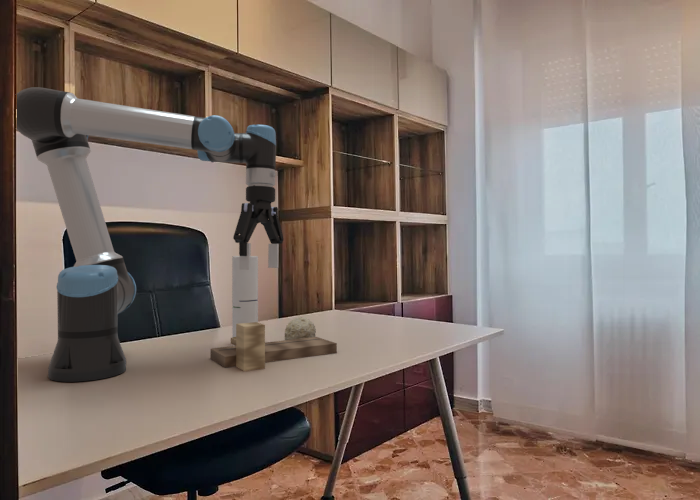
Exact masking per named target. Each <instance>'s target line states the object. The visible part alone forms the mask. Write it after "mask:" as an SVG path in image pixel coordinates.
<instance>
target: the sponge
mask: <svg viewBox="0 0 700 500" xmlns="http://www.w3.org/2000/svg"><path fill="white" fill-rule="evenodd" d="M316 331H317V329H316V325H315V324H314V323H313V321H312V320H310V319H309V318H306V317H301V316H298V317H296V318H293V319H291V320H290V321H289V322H288V323H287V325H286V327H285V329H284V337H283V338H284V340H292V339H301V338H311V337H316Z"/></svg>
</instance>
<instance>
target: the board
mask: <svg viewBox="0 0 700 500" xmlns="http://www.w3.org/2000/svg"><path fill="white" fill-rule="evenodd" d="M337 347H338V343H337V342H333V341H332V340H331V341H330V340H328V339H325V338H321V337H318V336H315V337H311V338H301V339H292V340H285V339H284V340H275V341H265V363H270V362H271V363H272V362H275V361H285V360H292V359H294V360H295V359H298V358H299V359H301V358H308V357H315V356H322V355H324V356H325V355H329V354H331V355H332V354H337V353H338V349H337ZM210 359H211V360H212V361H214V362H215V363H217V364H219V365H220V366H221V367H223V368H226V369H227V368H232V367H233V368H234V367H236V346H233V345H232V346H231V345H230V346H229V345H228V346H221V347H212V348H210Z"/></svg>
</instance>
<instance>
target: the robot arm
mask: <svg viewBox="0 0 700 500" xmlns="http://www.w3.org/2000/svg"><path fill="white" fill-rule="evenodd" d="M16 94H17V129H16V130H17V132H18V133H19V134H21V135H23V136H24V137H25V138H28V139H29V140H31V143H32V146H33V148H34V153H35V155H36V158H37V161H39V162H41V163H42V164H44V165H46V167H47V170H48V173H49V176H50V180H51V184H52V186H53V189H54V193H55V196H56V198H57V199H56V200H57V203H58V206H59V208H60V209H59V210H60V212H61V215H62V219H63V222H64V225H65V228H66V231H67V235H68V239H69V241H70V242H69V243H70V245H71V247H72V248H71V249H72V250H73V254H74V257H75V258H74V259H75V261H76V262H75V263H74V264H73V266H70V267H67V268H64V269H62V270H61V271H59V273H58V275H57V283H56V290H57V292H56V293H57V296H56V297H57V342H56V345H55V348H54V350H53V353H52V356H51V357H50V358H51V359H50V362H49V365H48V368H47V369H48V376H47V377H48V379H49V380H52V381H56V382H63V383H64V382H71V383H73V382H87V381H96V380H102V379H107V378H111V377H115V376H117V375H120V374H123V373H124V372H126V371H127V359H126V356H125V353H124V350H123V348H122V344H121V341H120V339H119V336H118V334H119V333H118V315H120V314H122V313H123V312H125V311H126V310H127V309H128V308H130V306H131V305H132V304H133V302H134V301H135V298H136V294H137V285H136V282H135V279H134V277H133V276H132V274H130V272H128V270H127V267H126V264H125V260H124V256H122V255H120V254H119V253H116V252H115V249H114V247H113V244H112V240H111V237H110V232H109V231H108V227H107V224H106V220H105V218H104V214H103V210H102V208H101V203H100V200H99V197H98V194H97V191H96V190H97V189H96V187H95V184H94V181H93V178H92V174H91V171H90V168H89V164H88V161H87V157H88V156H89V154H90V153H91V148H90V144H89V141H88V139H89V136H90V137H98V138H106V139H113V140H120V141H121V140H122V141H128V142H136V143H142V144H143V143H144V144H151V145H158V146H165V147H173V148H178V149H179V148H180V149H188V150H194V151H197V157H198V159H199V160H200V161H203V162H211V163H240V164H246V167H245V184H246V185H247V186H246V188H245V200H246V202H244V203H241V207H240V208H241V209H240V214H239V218H238V220H237V223H236V227H235V231H234V233H233V238H232V239H233V240H234V242H235V243H237V244H238V246H239V247H238V250H239V251H238V252H239V253H238V254H239V255H238V256H240V260H239V270H250V265H251V256H252V255H251V254H252V253H251V252H252V250H251V249H252V248H251V247H252V244H251V242H250V239H251V238H252V235H253V233H254V231H255V229H256V227H257V225H258V224H261V225H262V226H263V228H264V230H265V233H266V235H267V237H268V239H269V243H268V245H267V246H268V249H267V250H268V252H267V255H268V259H267V264H268V265H267V266H268V267H267V268H269V269H273V268H274V269H279V253H280V252H279V247H280V244H283V243H284V235H283V231H282V227H281V222H280V218H279V209H278V206H272V204H273V203H274V202H276V188H275V186H276V176H277V174H276V167H277V166H276V164H277V163H276V162H277V160H276V159H277V140H276V139H277V135H276V134H277V133H276V130H275V128H273V126H270V125H266V124H258V123H257V124H250V125H248V126H247V127H246V131H245V132H239V133H238V132H235V131H234V128H233V126H232V125H231V123H230V122H229V121H228V119H226V118H225V117H223V116H222V115H214V114H213V115H209V116H207V117H202V116H194V115H188V114H182V113H176V112H168V111H163V110H162V111H161V110H157V109H156V110H155V109H148V108H141V107H137V106H129V105H123V104H118V103H110V102H102V101H97V100H91V99H83V98H78V97H77V96H76V94H74V93H73V92H70V91H64V90H57V89H51V88H46V87H38V86H37V87H35V86H34V87H32V86H31V87H27V88H24V89H22V90H20V91H18V92H17V93H16Z"/></svg>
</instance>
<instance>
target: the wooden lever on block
mask: <svg viewBox="0 0 700 500" xmlns="http://www.w3.org/2000/svg"><path fill="white" fill-rule="evenodd" d="M265 342H266V324H264V323H261V322H259V321H258V322H251V323H240V324H236V337H233V338H232V337H230V344H231V345H232V344H233V345H235V346H236V366H235V368H237V367H238V368H237V369H239V370H241V371H243V372H250V371H249V370H251V371H256V370H263V369H266V362H265ZM233 345H232V346H233Z"/></svg>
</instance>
